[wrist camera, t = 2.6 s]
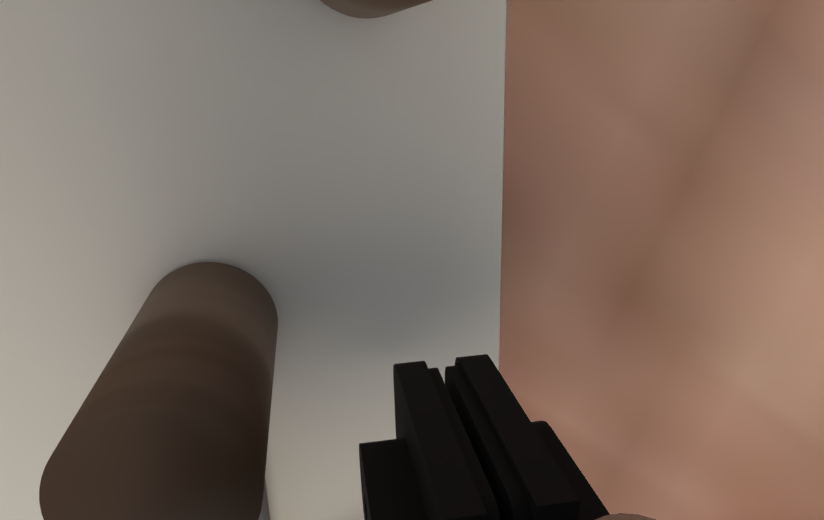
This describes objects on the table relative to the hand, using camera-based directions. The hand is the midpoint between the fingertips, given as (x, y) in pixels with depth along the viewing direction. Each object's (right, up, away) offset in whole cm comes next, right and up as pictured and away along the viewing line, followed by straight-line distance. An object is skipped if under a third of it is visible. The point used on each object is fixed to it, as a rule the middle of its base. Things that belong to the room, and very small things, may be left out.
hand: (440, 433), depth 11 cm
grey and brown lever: (-5, -2, +5) cm, 7 cm away
